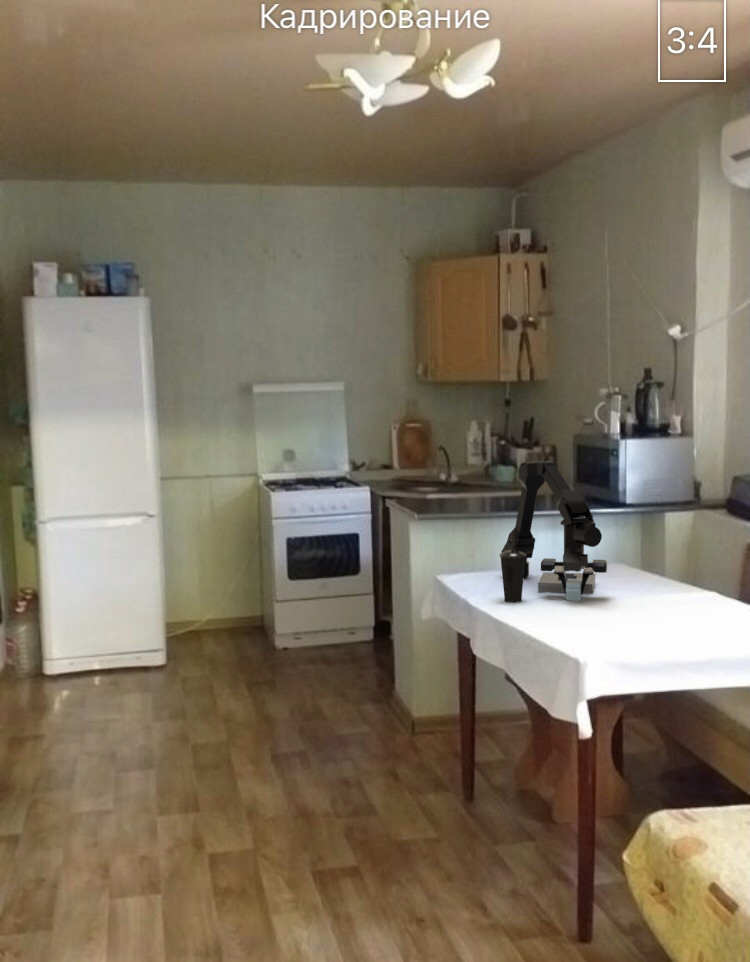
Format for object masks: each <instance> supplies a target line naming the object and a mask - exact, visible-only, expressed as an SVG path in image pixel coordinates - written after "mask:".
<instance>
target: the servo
mask: <svg viewBox="0 0 750 962" xmlns="http://www.w3.org/2000/svg"><path fill="white" fill-rule="evenodd" d="M581 584H582V579H568V580H567V582H566V594H565V600H566V601H571V600H572V601H575V602H576V601H577V602H578V601H579V602H581V599H582V597H581V596H583V594H582V595H581Z"/></svg>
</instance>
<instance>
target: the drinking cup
mask: <svg viewBox="0 0 750 962" xmlns="http://www.w3.org/2000/svg"><path fill="white" fill-rule="evenodd" d="M510 533H511V532H510ZM511 542H512V550H508V551H505V552H503V553H501V552H500V553H499V558H500V565H501V574H502V575H501V577H502V586H503V587H502V588H503V595H504V601H505V602H507V603H520V602H522V598H523V587H524V579H523V576H524V564H525V557H526V554H525V553H523V552H521V551H518V550H514V532H512V533H511Z"/></svg>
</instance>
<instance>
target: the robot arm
mask: <svg viewBox="0 0 750 962" xmlns="http://www.w3.org/2000/svg"><path fill="white" fill-rule="evenodd" d="M518 480H519V482H520V485H521V493H520V496H519V497H520V498H519V505H518V510H517V514H516V515H517V516H516V520H515V521H516V522H515V526H514V528H513V529H512V530H511V531H510V532H509V534H508V536H507V540H506V543H505V544H504V546H503V548H502V550H501V552H500V554H501V553H503V552H505V551H508V550H512V542H511V533H512V532H514V550H518V551H521V552H523V553H525V554H526V557H525V564H524V576H523V580H524V579H527V578H528V577H529V576H530V561H528V559H532V558H533V554H534V550H535V543H536V538H535V537H534V535H533V533H532V530H531V529H532V524H533V519H534V513H535V510H536V509H535V508H536V504H537V503H536V501H537V497H538V492H539V490H540V489H541V488H542V486H543V485H544V484H545V483H546V484H547V486H548V487H549V489H550V490H551V492H552V493H553V495H554V496H555V498H556V501H557V502H558V503H557V509H558V511H559V514H560V516H561V517H562V519H563V520H561V521H560V525H562V526H563V555H562V561H557V560H556V558H543V559H542V560H541V562H540V571H541V572H552V571H553V573H554V574H557V575H558V576H559V578H560V580H561V582H562V585H563V588H564V591H565V593H564V594H565V595H566V582H567V580H566V573H567V572H575V573H579V572H581V570H583V572H582V573H583V577H582V584H581V595H582V596H583V595H584V594H583V591H584V587H585V584H586V581H587V579H588V577H589V575H593V574H595V573H602V574H603V573H607V571H608V561H607V560H606V559H592V562H589V558H588V557H589V555H588V553H585V546H586V547H593V548H594V547H596V546H598V545H599V544H600V543H601V541H602V538H603V534H602V533H601V530H600V529H599V528H598V527H597V526H596V522H595V521H594V516H593V514H592V512H591V510H590V507H589V504H588V503H587V501H586V499H585V498H584V497H582V495H581V494H579V493H577V492H575V491H574V490H572V489H571V487H570V486H569V483H568V482H567V481H566V479H565V478H564V476H563V475H562V474H561V472H560V471H559V469H558V466H557V463H556V462H555V461H552V460H549V461H543V460H536V461H535V460H534V461H523V462H522V463H520V465H519V467H518Z"/></svg>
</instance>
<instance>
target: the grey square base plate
mask: <svg viewBox="0 0 750 962" xmlns="http://www.w3.org/2000/svg"><path fill="white" fill-rule="evenodd" d="M582 577H583V572H581V573H579V572H566V580H568V579H582ZM595 585H596V573H593V575H589V577H588V579H587V581H586V584H585V587H584V591H583V594H582V595H593V594H594V590H595ZM541 592H552V593H551V594H565V591H564V588H563V585H562V582H561V580H560V578H559V576H558V575H557V574H554V572H552V571H542V574H541V576H540V578H539V580H538V583H537V593H541Z"/></svg>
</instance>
